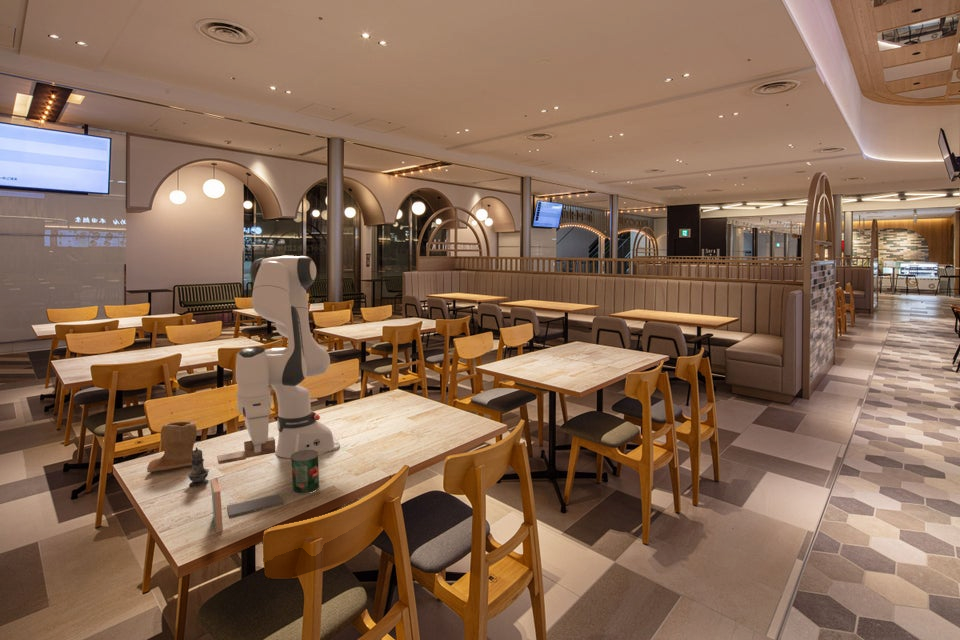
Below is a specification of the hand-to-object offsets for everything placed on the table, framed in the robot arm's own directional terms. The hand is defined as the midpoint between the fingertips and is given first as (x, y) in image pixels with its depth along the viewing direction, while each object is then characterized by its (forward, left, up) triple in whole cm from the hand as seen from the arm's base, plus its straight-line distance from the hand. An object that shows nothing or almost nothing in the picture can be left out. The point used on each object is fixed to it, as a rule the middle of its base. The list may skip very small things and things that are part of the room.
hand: (256, 449), depth 143 cm
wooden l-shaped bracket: (+2, 0, -2) cm, 3 cm away
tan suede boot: (+20, -40, -16) cm, 47 cm away
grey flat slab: (+1, +4, -16) cm, 16 cm away
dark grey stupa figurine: (+14, -21, -16) cm, 30 cm away
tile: (+11, +8, -16) cm, 21 cm away
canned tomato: (-14, 0, -16) cm, 21 cm away
